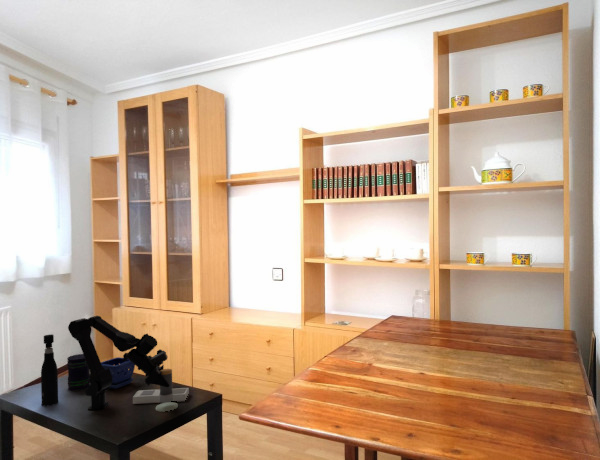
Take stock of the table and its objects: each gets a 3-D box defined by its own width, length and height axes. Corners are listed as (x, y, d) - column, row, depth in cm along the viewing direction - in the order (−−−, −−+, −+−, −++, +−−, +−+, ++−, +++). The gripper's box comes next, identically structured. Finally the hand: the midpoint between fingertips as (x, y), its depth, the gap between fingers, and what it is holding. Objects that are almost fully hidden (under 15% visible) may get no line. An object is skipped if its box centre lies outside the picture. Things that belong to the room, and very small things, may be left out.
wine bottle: (61, 400, 196) (59, 333, 196) (53, 405, 189) (52, 336, 190) (46, 400, 195) (45, 334, 196) (38, 406, 189) (37, 337, 189)
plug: (171, 402, 180) (170, 372, 181) (158, 403, 180) (157, 372, 180) (174, 397, 186) (173, 368, 186) (161, 398, 186) (160, 368, 186)
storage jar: (94, 383, 217) (93, 353, 217) (82, 390, 207) (81, 359, 207) (76, 383, 218) (75, 353, 218) (63, 390, 208) (62, 359, 209)
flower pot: (95, 388, 210) (95, 363, 211) (117, 379, 223) (117, 356, 223) (115, 391, 205) (115, 366, 205) (137, 382, 217) (136, 358, 217)
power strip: (185, 401, 190) (185, 393, 190) (132, 403, 188) (132, 396, 188) (188, 394, 198) (188, 387, 198) (138, 397, 196) (138, 390, 196)
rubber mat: (175, 411, 179) (175, 409, 179) (153, 412, 178) (153, 411, 178) (179, 403, 188) (179, 401, 188) (158, 404, 187) (158, 402, 187)
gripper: (153, 351, 173) (182, 376, 176) (157, 340, 192) (183, 363, 194) (132, 372, 172) (162, 397, 174) (139, 360, 190) (165, 382, 192)
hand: (169, 384), depth 183 cm, fingers closed on plug, 5 cm apart
